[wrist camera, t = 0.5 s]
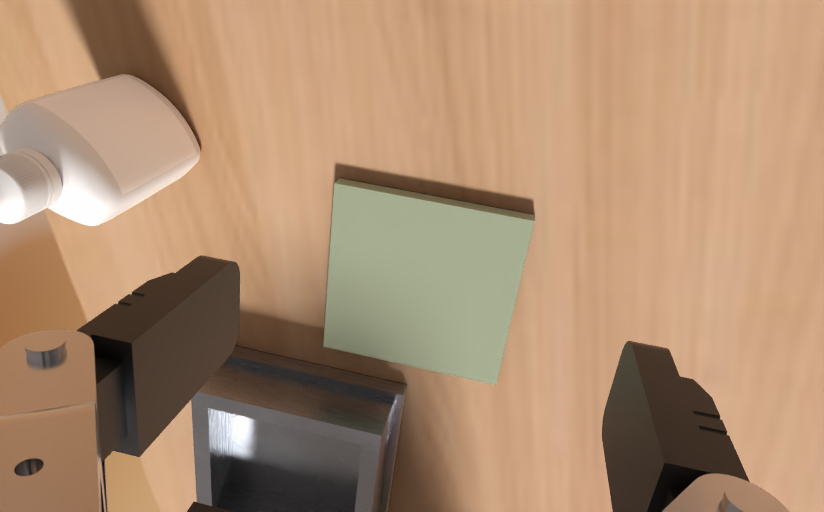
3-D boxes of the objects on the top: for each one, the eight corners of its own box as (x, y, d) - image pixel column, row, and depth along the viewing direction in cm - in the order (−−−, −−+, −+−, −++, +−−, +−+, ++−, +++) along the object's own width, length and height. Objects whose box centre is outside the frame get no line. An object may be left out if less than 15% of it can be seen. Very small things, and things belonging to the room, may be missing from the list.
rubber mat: (339, 178, 31) (334, 183, 31) (534, 214, 30) (534, 221, 29) (327, 339, 36) (323, 346, 35) (497, 376, 35) (496, 385, 34)
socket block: (216, 341, 38) (182, 381, 34) (406, 384, 36) (391, 431, 33) (220, 481, 43) (191, 528, 40) (386, 523, 42) (371, 576, 38)
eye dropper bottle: (174, 63, 30) (-25, 119, 20) (210, 171, 33) (49, 274, 22) (100, 77, 32) (-125, 138, 21) (141, 181, 34) (-45, 283, 23)
